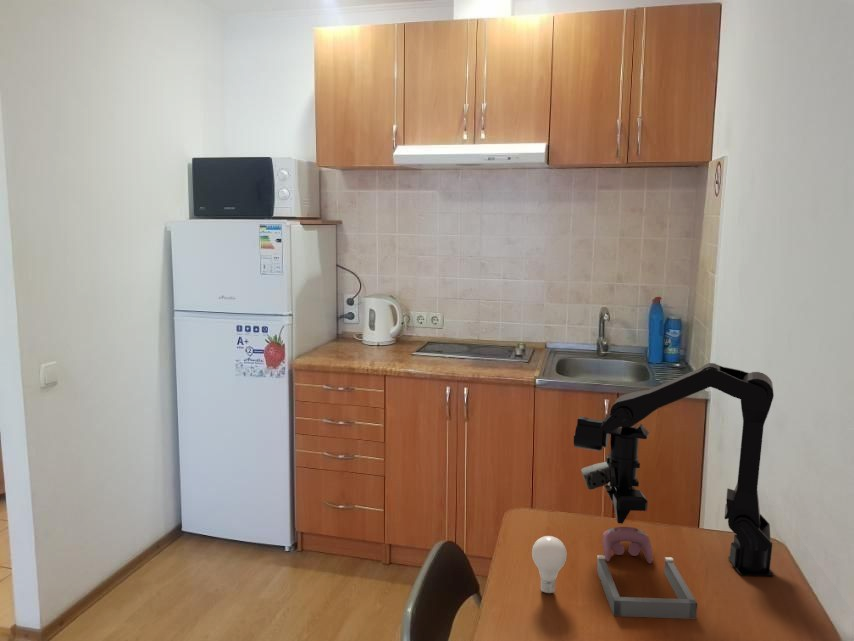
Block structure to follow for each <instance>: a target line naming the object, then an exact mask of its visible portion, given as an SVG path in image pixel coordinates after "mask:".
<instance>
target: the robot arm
mask: <svg viewBox="0 0 854 641" xmlns="http://www.w3.org/2000/svg"><path fill="white" fill-rule="evenodd" d="M708 388H713V389H716V390H718V391H721V393H724V394H726V395H728V396H731V397H732V398H736V399H739V400H740V405H741V406H740V407H741V415H742V421H743V422H742V431H741V432H742V433H741V441H740V452H739V462H738V473H737V483H736V485H735V487H734V489H732V488H726V500H725V501H726V503H725V506H724V520H727V525H728V528H729V529H730V531H732V532H733V533H734V535H733V536H734V537H733V541H732V542H730V551H729V556H728V557H727V558H728V561H729V562H730V563H731V565H732V566H733V567H734V568H735V570H736V571H737V573H738V574H739V575H740V576H748V577H749V576H750V577H751V576H752V577H774V576H775V575H774V572H773V571H772V570H771V562H772V552H773V542H772V541H771V538H772V537H771V525H770V522H768V520H767V519H766V518H765V517H764V516H763V515H762V514H761V512H760V511H761V510H760V501H759V500H760V499H759V493H758V486H759V485H758V484H759V477H760V476H759V475H760V465H761V455H762V447H763V446H762V445H763V436H764V435H763V434H764V426H765V423H766V420H767V418H768V415H769V413H770V409H771V406H772V402H773V400H774V386H773V381H772V379H771V378H770V377H769V376H768V375H767V374H766V373H764V372H760V371H752V372H746V371H744V370H741V369H737V368H736V369H735V368H732V367H726V366H722V365H719V364H717V363H714V362H709V363H705V364H704V365H703V366H701V367H699V368H697V369H694V370H693V371H691V372H688V373H685V374H683V375H680V376H678V377H676V378H674V379H672V380H670V381H667V382H664V383H663V384H660V385H658V386H656V387H652V388H651V389H646V390H637V391H633V392H628V393H625V394H622V395H620V396H618V397H617V399H616V400H615V402H613V404H612V406H611V408H610V411H609V412H610V413H608V414H607V415H606V416H605V418H604V419H603V420H602V419H595V418H589V417H586V416H581V415H580V416H579V417H578V418H577V422H576V426H575V430H574V434H573V446H574V447H575V448H577V449H578V448H579V449H583V450H589V451H597V452H603V447H604V448H608V446H610V447H609V454H606V456H605V461H604V462H603V461H602V462H598V463H595V464H591V465H588V466H585V467H583V468H581V469H580V470H581V475H582V477H583V481H584V483H585V484H586V488H587V489H588V490H594V489H598V488H600V487H601V488H602V487H604V488H605V490H606V493H607V495H608V497H609V499H610V501H612V502H613V508H614V513H615V519H616V522H617V524H623V523H624V522H625V520H626V519H627V517H628V515H629V514H630V512H631V511H634V512H635V511H637V512H641V511H642V512H646V511H647V510H648V503H649V502H648V499H647V498H646V497H645V494H643V492H642V491H641V490H640V489H637V488H636V487H640V486H639V480H638V478H637V472H638V469H640V468H641V463H640V461H639V460H638V459H639V458H638V457H639V440H647V439H648V437H649V434H650V432H649V430H648V429H646V428H645V427H644V425H643V424H641V423H640V424H639V425H637V424H638V423H639V422H641V421H642V420H645V418H647V417H648V416H650V414H652V413H653V412H655V411H657V410H659V409H660V408H663V407H666V406H667V405H670V404H673V403H675V402H677V401H680V400H681V399H682V400H683V399H684V398H686V397H689V396H691V395H693V394H696V393H698V392H701V391H704V390H706V389H708ZM635 425H637V426H635ZM609 440H610V442H609ZM609 444H610V445H609Z"/></svg>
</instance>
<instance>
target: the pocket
mask: <svg viewBox="0 0 854 641" xmlns="http://www.w3.org/2000/svg"><path fill="white" fill-rule="evenodd" d="M596 556H597V564H596V572H597V574H598V578H599V580H601V581H600V583H601V586H602V589H603V592H604V593H605V596H606V599H607V602H608V604H609V608H610V609H611V610H610V611H611V612H612V616H614V617H632V618H656V619H657V618H661V619H687V620H689V619H690V620H697V613H698V602H697V601H696V599H695V597H694V595H693V593H692V592H691V590H690V589H689V586H688V584H687V583H686V582H685V579H684V578H683V576H682V575H681V573H680V572H679V570H678V568H677V567H676V565H675V563H674V558H673V557H670V556H669V557H667V556H664V571H663V572H664V573H663V574H664V576H665V578H666V579H667V581H668V583H669V584H670V586H671V588H672V590H673V591H674V592H673V593H674V594H675V596H676V597H677V598H664V597H661V598H660V597H657V598H656V597H636V596H635V597H634V596H632V597H631V596H620V594H619V591H618V588H617V587H616V584H615V582H614V581H615V580H614V579H613V576H612V573H611V571H610V569H609V567H608V565H607V561H606V559H605V556H604V554H601V555H599V554H597V555H596Z"/></svg>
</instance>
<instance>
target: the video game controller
mask: <svg viewBox="0 0 854 641" xmlns="http://www.w3.org/2000/svg"><path fill="white" fill-rule="evenodd" d="M621 542H623V543H624V542H628V543H629V545H628V548H627V551H628V554H629V555H630V556H632V557H637V556H638V555H639V554H640V553H641V551H643V554H644V558H645V560H646V562H647V563H648V564H652V562H653V548H652V544H651V540H650V537H649V535H648V534H647V533H646V532H644V531H643V530H642V529H638V528H635V527H631V526H616V527H610V528H609V529H606V530H605V531H603V534H602V550H603V551H602V552H603V555H604V556H605V561H606V562H610V561H611V559H612V552H613V554H615V555H617V556H620V555H621V556H622V555H623V554H624V553H625V547H624V545H623V544H622V543H621Z"/></svg>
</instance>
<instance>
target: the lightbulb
mask: <svg viewBox="0 0 854 641" xmlns="http://www.w3.org/2000/svg"><path fill="white" fill-rule="evenodd" d="M567 556H568V555H567V548H566V546H565V544H564V543H563V541H561V540H560V539H559V538H557V537H556V536H552V535H544V536H542V537H540V538H538V539H537V540H536V541H535V542H534V543H533V546H532V550H531V558H532V560H533V562H534V565H535V566H536V567H537V569H538V572H539V576H540V590H541V592H543V593H545V594H553V593H554V592H555V591H556V579H557V577H558V573H559V572H560V570H561V569H563V567H564V565H565V563H566V561H567Z"/></svg>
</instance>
